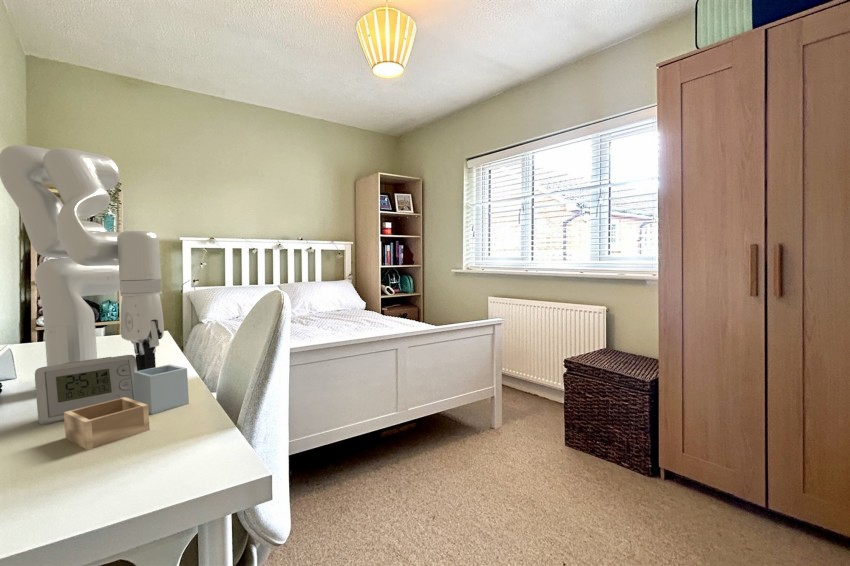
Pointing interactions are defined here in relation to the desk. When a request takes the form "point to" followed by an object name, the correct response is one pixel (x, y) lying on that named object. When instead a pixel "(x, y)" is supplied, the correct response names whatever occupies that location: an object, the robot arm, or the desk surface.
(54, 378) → the digital clock
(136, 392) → the light blue pen cup
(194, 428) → the desk surface
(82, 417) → the oak box
